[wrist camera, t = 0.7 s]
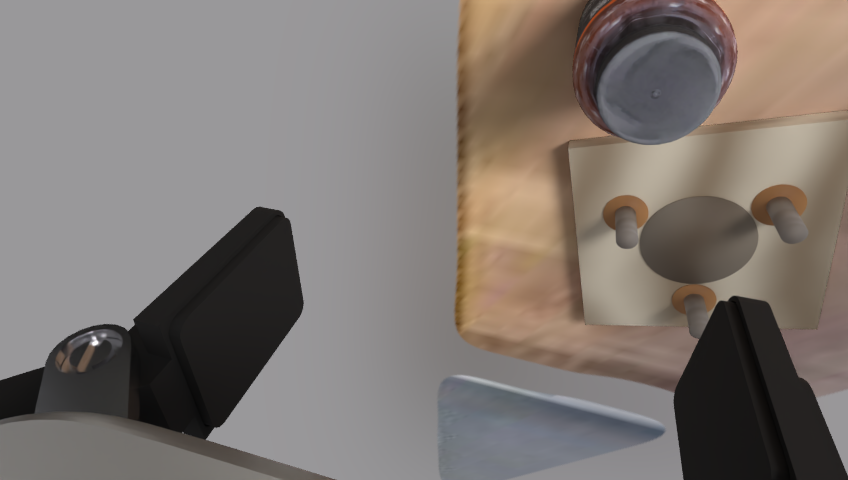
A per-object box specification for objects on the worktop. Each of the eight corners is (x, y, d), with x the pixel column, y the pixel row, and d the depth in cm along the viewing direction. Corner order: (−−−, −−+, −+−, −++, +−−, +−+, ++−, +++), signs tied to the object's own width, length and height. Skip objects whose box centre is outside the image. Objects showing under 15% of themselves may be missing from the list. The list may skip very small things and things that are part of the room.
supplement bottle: (667, 95, 28) (697, 193, 19) (562, 65, 28) (543, 147, 19) (727, -23, 24) (799, 30, 15) (605, -54, 25) (605, -21, 16)
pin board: (853, 109, 25) (890, 142, 22) (811, 316, 33) (834, 364, 29) (569, 140, 31) (564, 171, 27) (585, 313, 38) (583, 354, 34)
